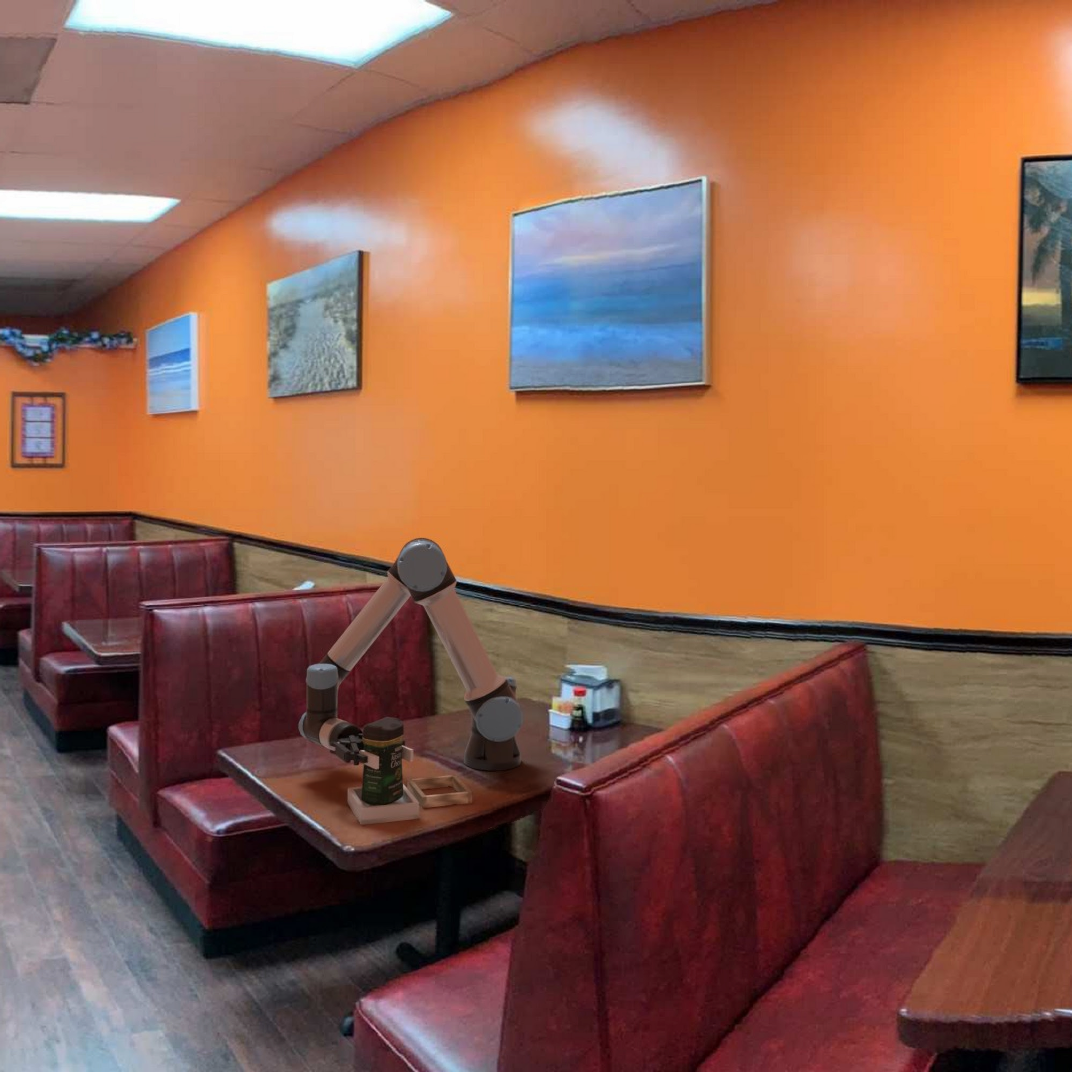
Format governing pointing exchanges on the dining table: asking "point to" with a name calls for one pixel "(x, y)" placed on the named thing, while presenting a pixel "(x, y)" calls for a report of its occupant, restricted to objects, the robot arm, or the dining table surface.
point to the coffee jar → (383, 762)
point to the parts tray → (383, 808)
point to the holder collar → (440, 799)
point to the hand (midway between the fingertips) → (394, 759)
